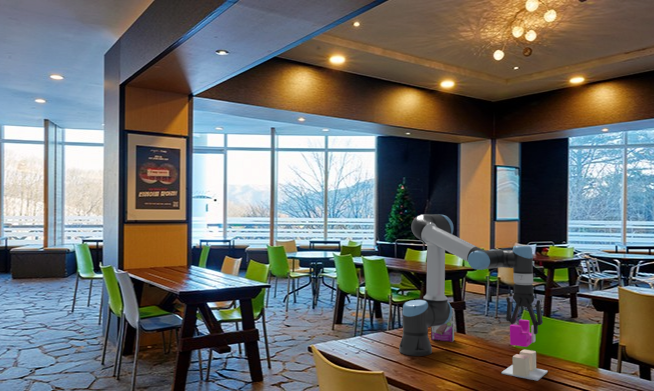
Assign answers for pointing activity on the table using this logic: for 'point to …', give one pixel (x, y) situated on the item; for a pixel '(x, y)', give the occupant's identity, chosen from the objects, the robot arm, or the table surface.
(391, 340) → the table surface
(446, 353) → the table surface
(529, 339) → the toy block
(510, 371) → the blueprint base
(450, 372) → the table surface
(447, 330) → the candy bar box
